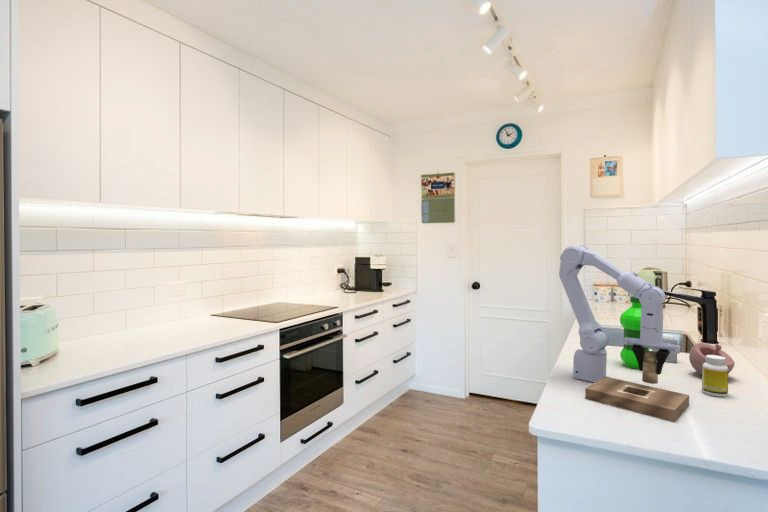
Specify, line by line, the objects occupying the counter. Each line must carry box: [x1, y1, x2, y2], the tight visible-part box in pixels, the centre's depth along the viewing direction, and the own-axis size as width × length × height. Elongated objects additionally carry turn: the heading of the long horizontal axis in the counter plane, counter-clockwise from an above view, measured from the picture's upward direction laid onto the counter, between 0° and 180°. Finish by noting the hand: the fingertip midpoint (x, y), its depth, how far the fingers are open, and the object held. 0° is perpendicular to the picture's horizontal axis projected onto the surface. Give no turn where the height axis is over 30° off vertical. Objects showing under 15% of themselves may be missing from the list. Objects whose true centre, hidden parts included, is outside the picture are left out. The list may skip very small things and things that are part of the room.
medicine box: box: [651, 336, 678, 364], centre depth 164 cm, size 8×4×9 cm, turn 58°
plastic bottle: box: [619, 295, 650, 370], centre depth 156 cm, size 10×10×25 cm
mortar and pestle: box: [688, 342, 736, 375], centre depth 144 cm, size 12×12×12 cm
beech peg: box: [641, 350, 659, 385], centre depth 132 cm, size 4×4×9 cm
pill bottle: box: [701, 355, 729, 398], centre depth 129 cm, size 6×6×11 cm
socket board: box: [584, 376, 690, 422], centre depth 123 cm, size 22×15×3 cm
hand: (650, 371), depth 132 cm, fingers closed on beech peg, 4 cm apart
